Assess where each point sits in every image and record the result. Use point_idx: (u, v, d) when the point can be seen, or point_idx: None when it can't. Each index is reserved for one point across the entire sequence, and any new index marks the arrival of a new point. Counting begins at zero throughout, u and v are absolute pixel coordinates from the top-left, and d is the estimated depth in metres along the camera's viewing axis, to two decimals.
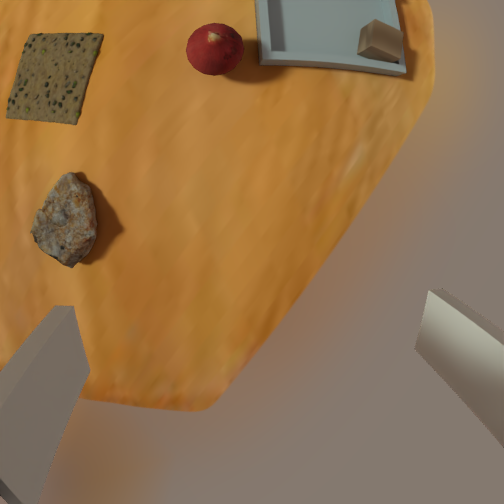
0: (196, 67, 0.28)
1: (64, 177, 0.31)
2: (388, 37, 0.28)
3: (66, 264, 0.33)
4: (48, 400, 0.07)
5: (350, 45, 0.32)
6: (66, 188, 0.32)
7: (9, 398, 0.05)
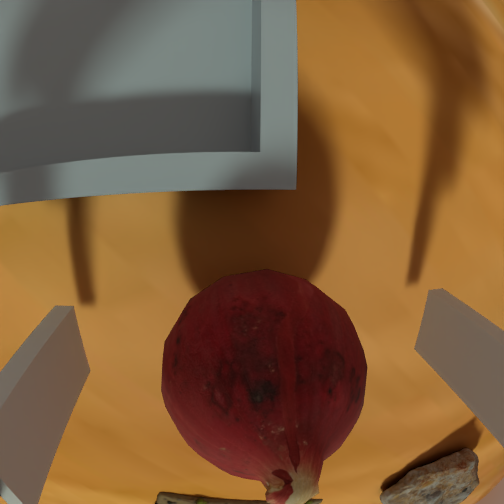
0: None
1: (388, 502, 0.17)
2: None
3: (478, 479, 0.18)
4: (48, 400, 0.07)
5: None
6: (403, 498, 0.17)
7: (9, 398, 0.05)
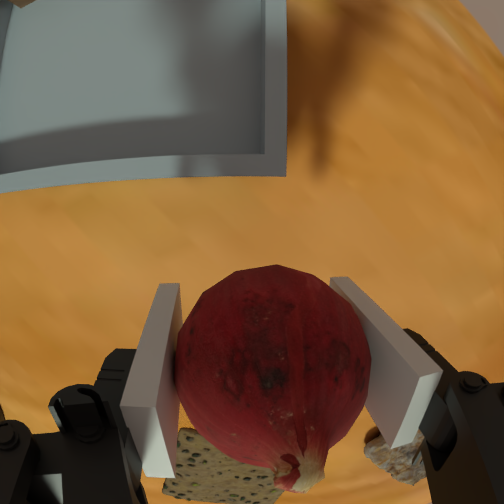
0: None
1: (371, 455, 0.23)
2: None
3: None
4: None
5: None
6: (385, 452, 0.23)
7: None
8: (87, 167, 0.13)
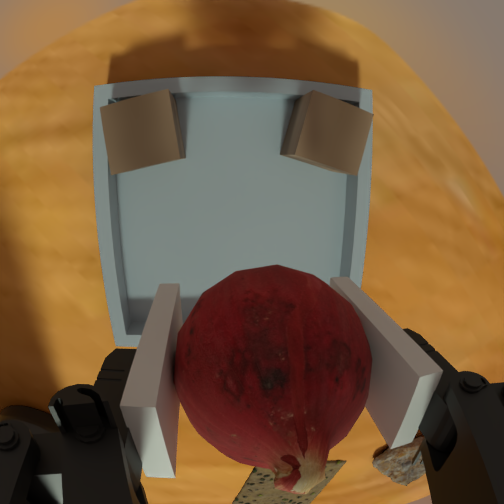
0: None
1: (378, 465, 0.32)
2: (334, 130, 0.17)
3: None
4: None
5: (317, 180, 0.22)
6: (387, 463, 0.32)
7: None
8: None
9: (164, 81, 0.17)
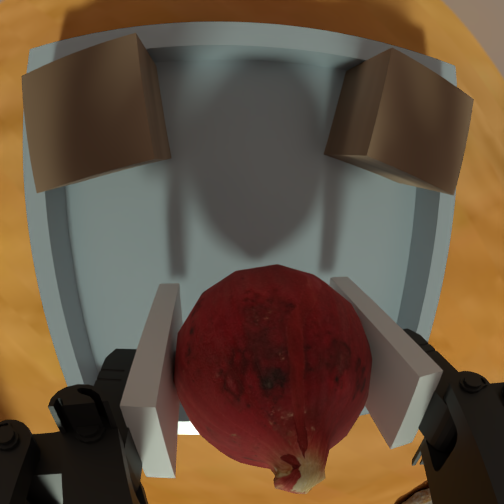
0: None
1: None
2: (425, 118, 0.09)
3: None
4: None
5: (377, 196, 0.14)
6: None
7: None
8: None
9: (136, 31, 0.09)
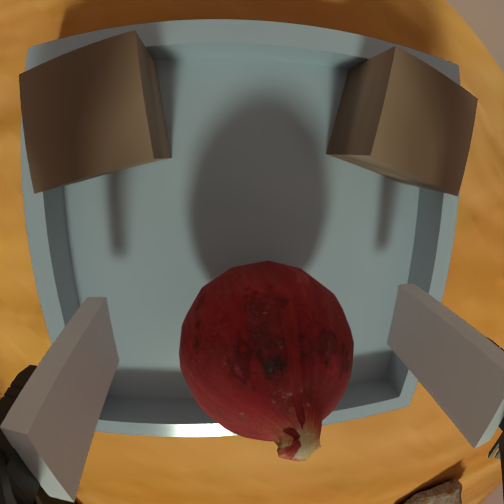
0: None
1: None
2: (430, 117, 0.09)
3: (461, 501, 0.24)
4: (86, 387, 0.08)
5: (379, 196, 0.14)
6: None
7: (54, 384, 0.06)
8: None
9: (135, 29, 0.09)
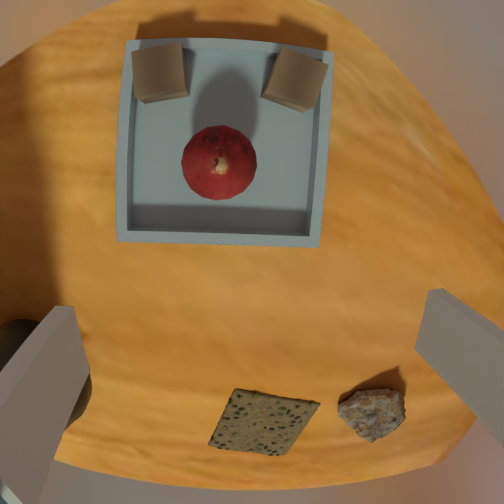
0: None
1: (342, 412, 0.37)
2: (297, 74, 0.22)
3: None
4: (48, 400, 0.07)
5: (289, 118, 0.27)
6: (352, 411, 0.37)
7: (9, 398, 0.05)
8: (214, 236, 0.28)
9: (178, 40, 0.22)
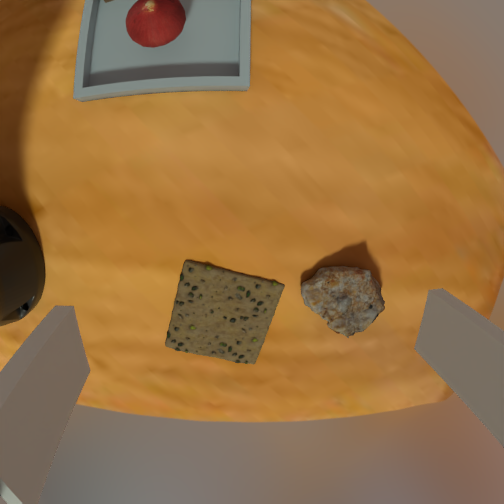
0: (175, 33, 0.24)
1: (306, 292, 0.36)
2: None
3: (384, 306, 0.36)
4: (48, 400, 0.07)
5: None
6: (317, 292, 0.36)
7: (9, 398, 0.05)
8: (154, 81, 0.27)
9: None
